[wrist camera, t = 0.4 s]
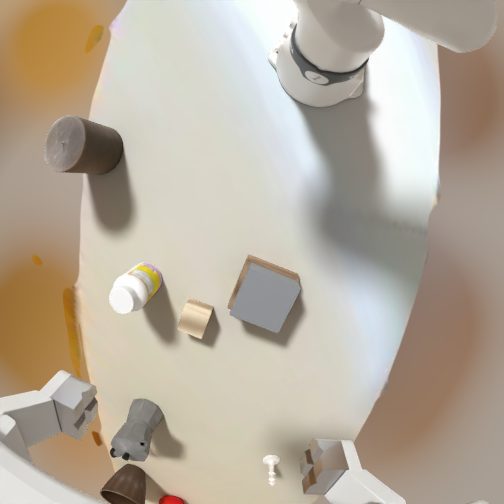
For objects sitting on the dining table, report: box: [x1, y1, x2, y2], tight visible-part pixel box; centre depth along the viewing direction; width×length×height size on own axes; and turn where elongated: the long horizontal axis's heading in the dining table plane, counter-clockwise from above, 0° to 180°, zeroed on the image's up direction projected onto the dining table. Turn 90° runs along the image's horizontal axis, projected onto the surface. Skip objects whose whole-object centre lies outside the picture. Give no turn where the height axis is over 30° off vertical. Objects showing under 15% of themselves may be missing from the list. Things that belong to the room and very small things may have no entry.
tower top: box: [230, 262, 301, 333], centre depth 50 cm, size 9×9×4 cm
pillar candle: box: [44, 115, 123, 174], centre depth 43 cm, size 10×10×15 cm
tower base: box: [228, 254, 300, 309], centre depth 54 cm, size 10×10×4 cm
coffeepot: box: [110, 399, 163, 461], centre depth 56 cm, size 15×9×18 cm, turn 128°
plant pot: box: [100, 464, 146, 504], centre depth 64 cm, size 15×15×16 cm
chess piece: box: [263, 455, 280, 486], centre depth 63 cm, size 5×5×10 cm
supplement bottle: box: [109, 262, 161, 314], centre depth 49 cm, size 7×7×13 cm
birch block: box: [177, 298, 213, 339], centre depth 55 cm, size 5×5×5 cm
